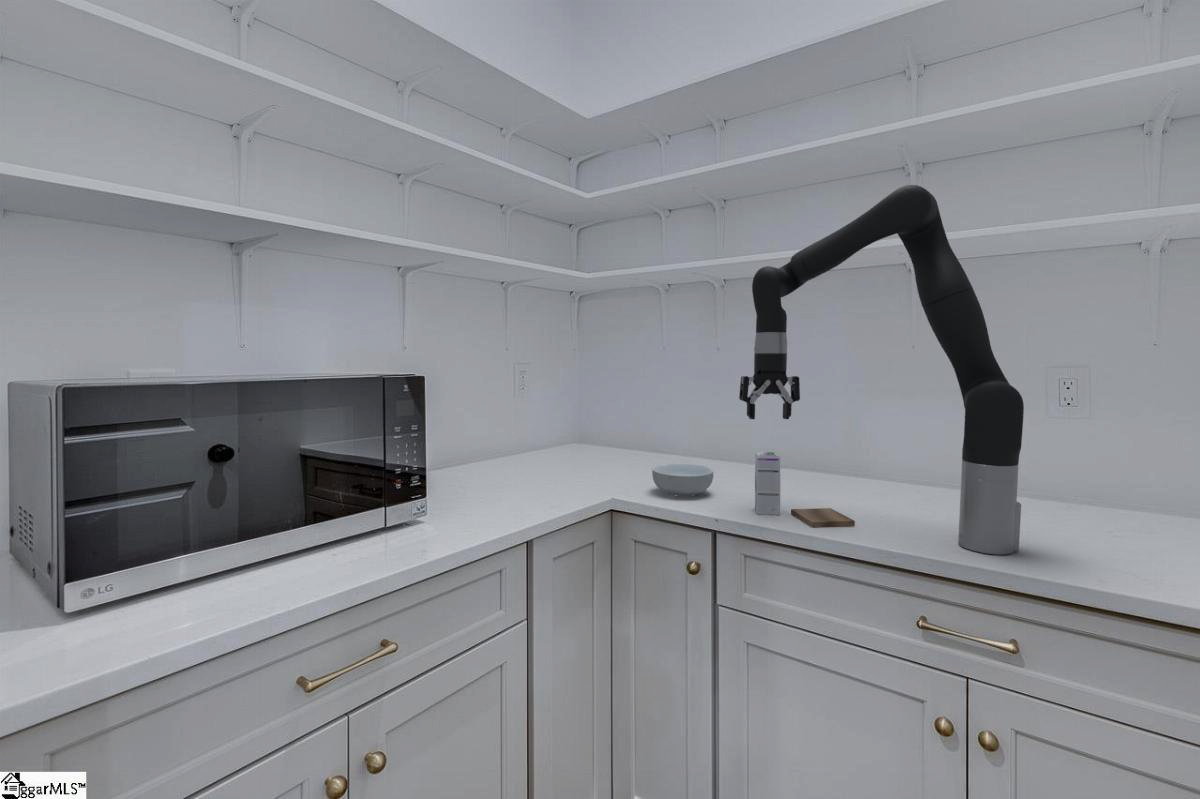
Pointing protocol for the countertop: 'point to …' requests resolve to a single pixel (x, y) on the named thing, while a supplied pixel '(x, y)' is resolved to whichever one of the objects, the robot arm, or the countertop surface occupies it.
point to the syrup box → (767, 483)
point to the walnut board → (822, 517)
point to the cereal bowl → (682, 478)
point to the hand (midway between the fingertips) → (768, 419)
